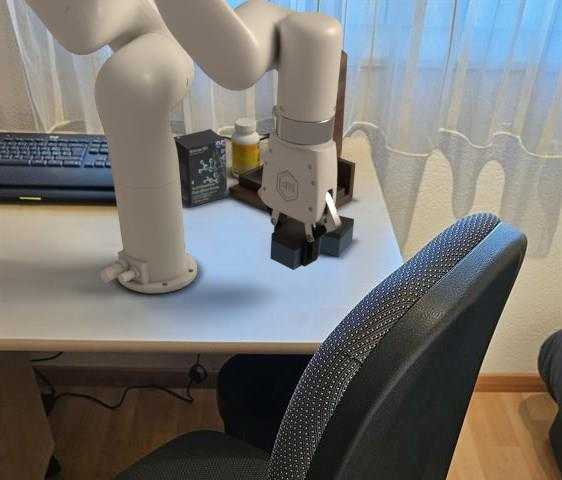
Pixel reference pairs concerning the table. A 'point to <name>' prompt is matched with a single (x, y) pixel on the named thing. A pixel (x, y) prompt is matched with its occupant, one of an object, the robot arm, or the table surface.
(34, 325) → the table surface
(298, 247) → the dark grey block
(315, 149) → the robot arm
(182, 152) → the box
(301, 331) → the table surface
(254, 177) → the brown wooden organizer
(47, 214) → the table surface
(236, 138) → the supplement bottle
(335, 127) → the candle
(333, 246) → the blue lidded block
